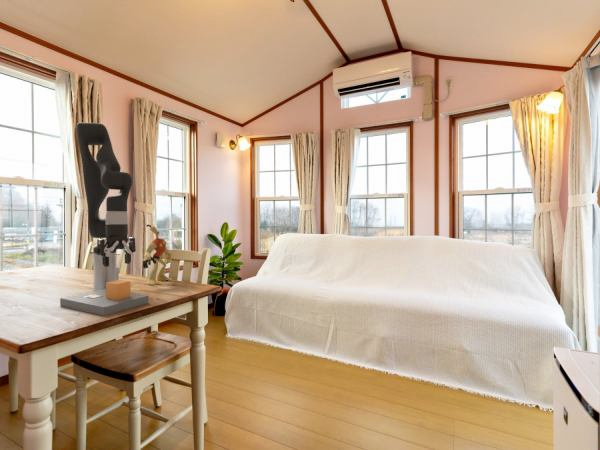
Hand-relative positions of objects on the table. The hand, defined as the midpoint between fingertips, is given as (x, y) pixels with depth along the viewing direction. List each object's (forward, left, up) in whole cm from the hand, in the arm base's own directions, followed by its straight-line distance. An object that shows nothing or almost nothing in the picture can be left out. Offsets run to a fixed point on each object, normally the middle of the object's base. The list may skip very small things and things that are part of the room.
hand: (117, 265), depth 124 cm
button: (+4, -8, -15) cm, 18 cm away
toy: (-34, -19, -16) cm, 42 cm away
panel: (+2, -5, -16) cm, 17 cm away
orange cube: (0, 0, -13) cm, 13 cm away
